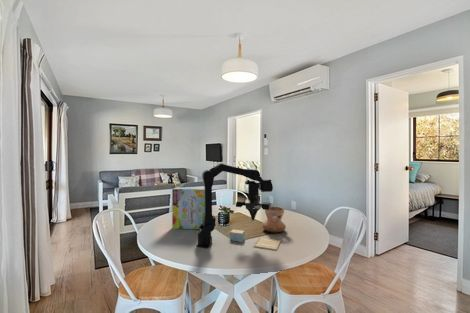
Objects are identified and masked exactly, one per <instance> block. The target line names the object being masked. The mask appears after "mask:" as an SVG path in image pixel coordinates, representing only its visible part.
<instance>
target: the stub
mask: <svg viewBox="0 0 470 313" xmlns="http://www.w3.org/2000/svg"><path fill="white" fill-rule="evenodd" d="M245 232H246V231H245V230H241V229H240V230H239V229H234V228H233V229H232V230H230V232H229V241H233V242H239V243H243V242H244V241H245V239H246V238H245Z"/></svg>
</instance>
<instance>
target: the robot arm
mask: <svg viewBox="0 0 470 313" xmlns="http://www.w3.org/2000/svg"><path fill="white" fill-rule="evenodd" d="M222 172H226V173H229V174H234V175H238V176H243V177H245V178H247V180H245V182H244V184H245V185H248V193H247V198H246V200H244V199H243V200H242V199H239V200H237V201H236V202H235V207H236V208H242V207H243V206H245V210H247V211H248V212H249V215H250V217H251V220H252V221H255V218H256V216H257V213H258V211H259V210H261V209H262V210H264V211H265V210H269V209H270V208H271V207H272V203H271V202H267V201H266V202H265V201H263V202H262V203H260V200H259V199H260V198H259V196H260V193H269V192H270V193H271V192H273V189H274V187H273V186H274V185H273V182H272V179H263V178H262V176H261V173H260V171H259V170H257V169H253V168H241V167H237V166H233V165H228V164H225V163H221V162H220V163H218V164H217V165H215V166H214V167H212V168H210V169H206V170H204V171H203V172H202V173H201V178H202V182H203V188H204V191H205V214H204V218H203V224H202V225H201V226H200V227H199V229H198V233H197V244H196V245H195V246H196V247H199V248H206V249H208V248H209V247H210V246H211V245H213V236H212V232H214V230H215V227H216V226H217V225H216V221H217V220H216V216H215V215H213V195H212V194H213V186H214V180H215V178H216V177H217V176H218V175H220V174H221V173H222ZM256 181H257V182H256ZM259 191H260V192H259Z"/></svg>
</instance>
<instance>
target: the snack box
mask: <svg viewBox="0 0 470 313" xmlns="http://www.w3.org/2000/svg"><path fill="white" fill-rule="evenodd" d="M171 190H172V191H171V195H172V197H171V198H172V201H171V202H172V203H171V205H172V208H171V209H172V215H171V216H172V217H171V219H172V220H171V222H172V226H171V227H172V228H171V229H172V230H173V229H176V230H178V229H180V230H199V227H200V226H201V225H202V224H203V218H204V214H205V191H204V187H193V186H192V187H188V186H187V187H179V186H178V187H174V188H172V189H171Z"/></svg>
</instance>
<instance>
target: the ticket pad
mask: <svg viewBox="0 0 470 313" xmlns="http://www.w3.org/2000/svg"><path fill="white" fill-rule="evenodd" d="M281 242H282V240H280V239H274V238H267V237H259V238H258V239H257V241H256V242H255V243H254V245H253V248H259V249H265V250H272V251H277V250H278V248H279V246H280V244H281Z"/></svg>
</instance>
